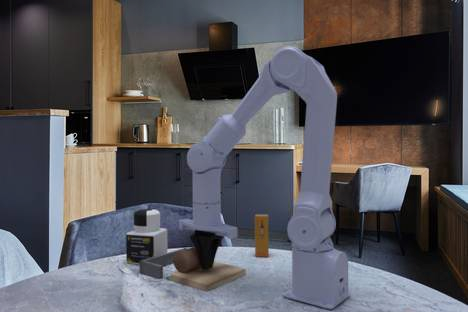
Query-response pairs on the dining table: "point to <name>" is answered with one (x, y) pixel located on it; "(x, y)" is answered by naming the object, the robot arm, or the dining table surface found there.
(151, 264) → the gray u-shaped frame
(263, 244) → the supplement box
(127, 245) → the medicine bottle
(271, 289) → the dining table surface
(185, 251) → the roller
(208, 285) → the tan flat square slab
